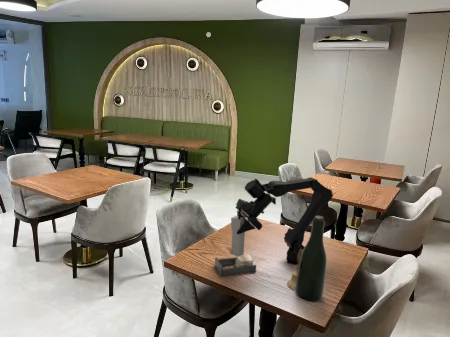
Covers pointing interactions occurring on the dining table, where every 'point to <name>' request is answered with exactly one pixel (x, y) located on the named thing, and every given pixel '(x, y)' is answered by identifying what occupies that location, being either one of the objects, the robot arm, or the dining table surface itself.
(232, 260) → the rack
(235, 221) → the vintage mobile phone
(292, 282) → the hand bell
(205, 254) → the dining table surface
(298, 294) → the beer bottle
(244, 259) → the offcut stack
